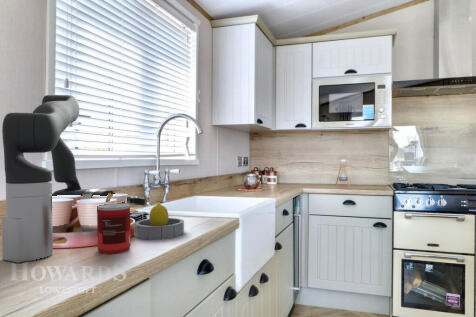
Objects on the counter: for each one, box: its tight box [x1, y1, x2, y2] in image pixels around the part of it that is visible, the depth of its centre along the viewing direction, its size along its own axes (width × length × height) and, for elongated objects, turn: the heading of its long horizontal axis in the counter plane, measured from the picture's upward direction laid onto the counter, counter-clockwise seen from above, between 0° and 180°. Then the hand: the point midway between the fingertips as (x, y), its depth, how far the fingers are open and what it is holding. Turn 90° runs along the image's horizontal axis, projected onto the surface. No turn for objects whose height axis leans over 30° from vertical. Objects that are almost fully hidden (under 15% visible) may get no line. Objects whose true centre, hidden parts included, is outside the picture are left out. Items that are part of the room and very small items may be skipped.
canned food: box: [96, 203, 131, 255], centre depth 87 cm, size 8×8×11 cm
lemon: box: [148, 203, 170, 226], centre depth 105 cm, size 6×6×8 cm
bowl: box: [133, 217, 185, 240], centre depth 105 cm, size 14×14×4 cm
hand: (134, 203), depth 109 cm, fingers open, 8 cm apart
